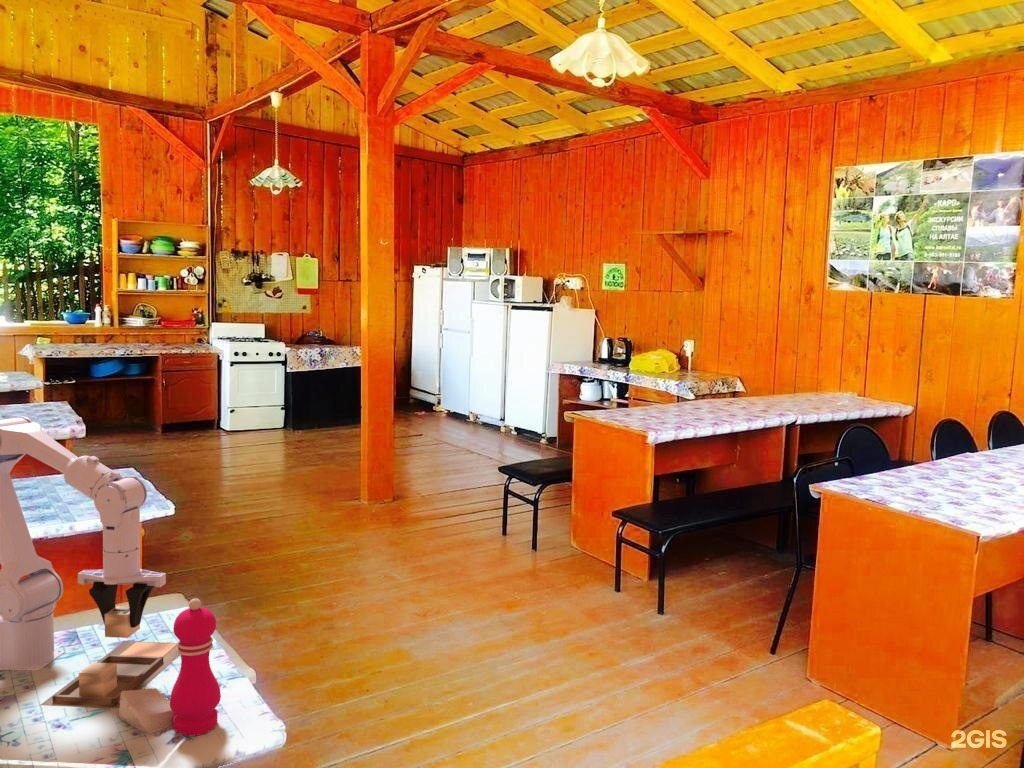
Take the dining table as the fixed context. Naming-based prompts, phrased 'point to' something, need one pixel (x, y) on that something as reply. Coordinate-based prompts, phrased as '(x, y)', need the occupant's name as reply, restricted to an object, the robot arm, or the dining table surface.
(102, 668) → the blank cube
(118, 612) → the letter cube
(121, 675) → the organiser
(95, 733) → the dining table surface
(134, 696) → the tan faceted block
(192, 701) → the pepper mill
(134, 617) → the robot arm
